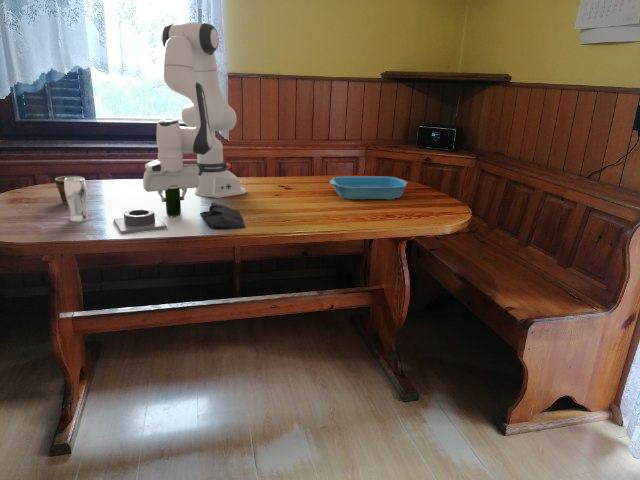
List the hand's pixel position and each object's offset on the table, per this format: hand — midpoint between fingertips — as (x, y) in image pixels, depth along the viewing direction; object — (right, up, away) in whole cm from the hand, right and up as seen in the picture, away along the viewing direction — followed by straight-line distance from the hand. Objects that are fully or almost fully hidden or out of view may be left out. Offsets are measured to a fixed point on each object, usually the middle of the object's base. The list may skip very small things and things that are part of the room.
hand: (173, 200), depth 183 cm
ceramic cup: (-45, 0, +12) cm, 47 cm away
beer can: (0, -5, +2) cm, 6 cm away
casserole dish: (+78, +6, +45) cm, 90 cm away
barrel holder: (-8, -10, -12) cm, 17 cm away
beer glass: (-31, -8, -8) cm, 33 cm away
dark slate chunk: (+19, -8, -2) cm, 21 cm away
